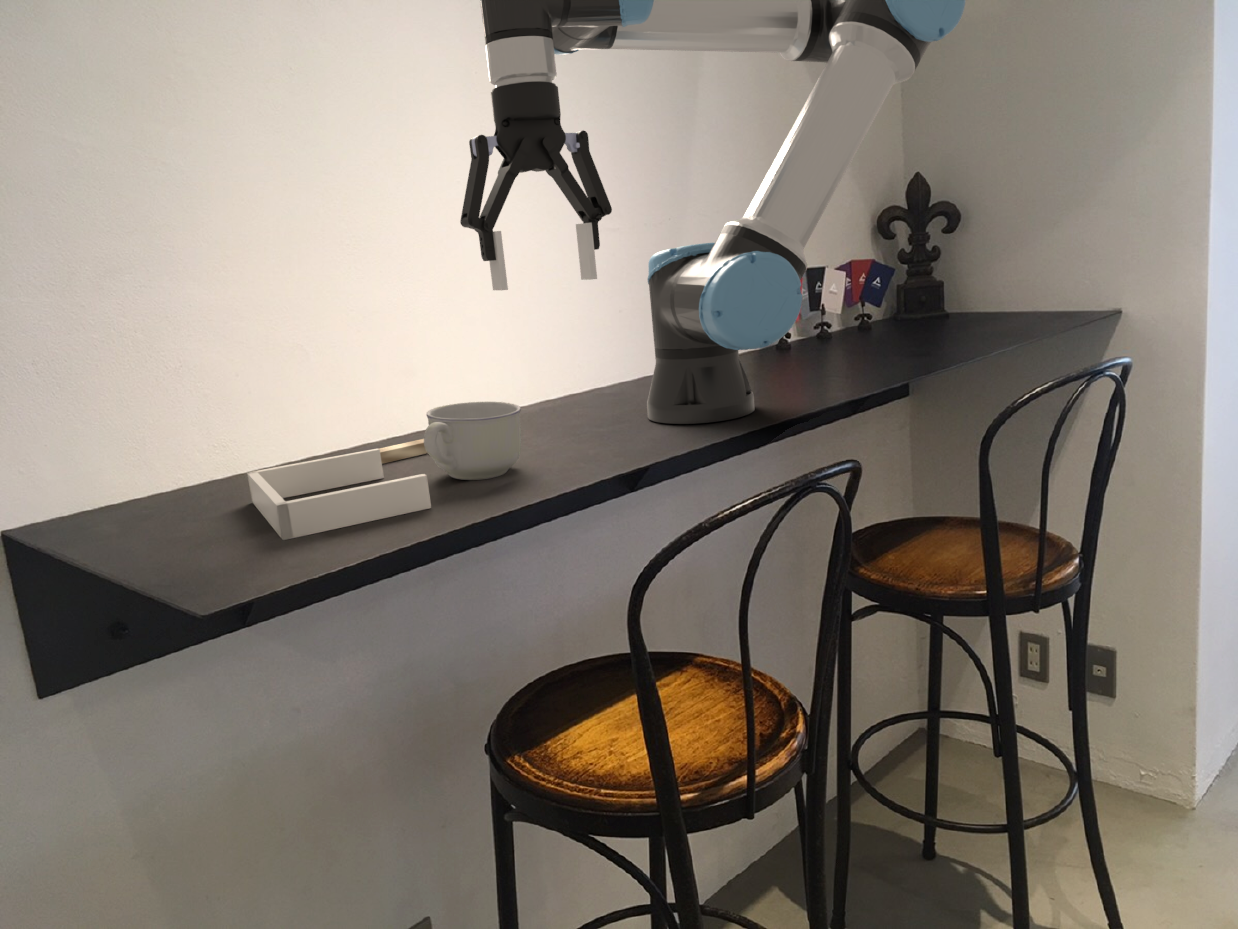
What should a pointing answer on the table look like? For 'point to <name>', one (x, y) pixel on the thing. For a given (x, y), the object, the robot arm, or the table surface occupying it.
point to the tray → (333, 494)
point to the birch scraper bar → (402, 451)
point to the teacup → (474, 438)
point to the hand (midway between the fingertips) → (545, 284)
